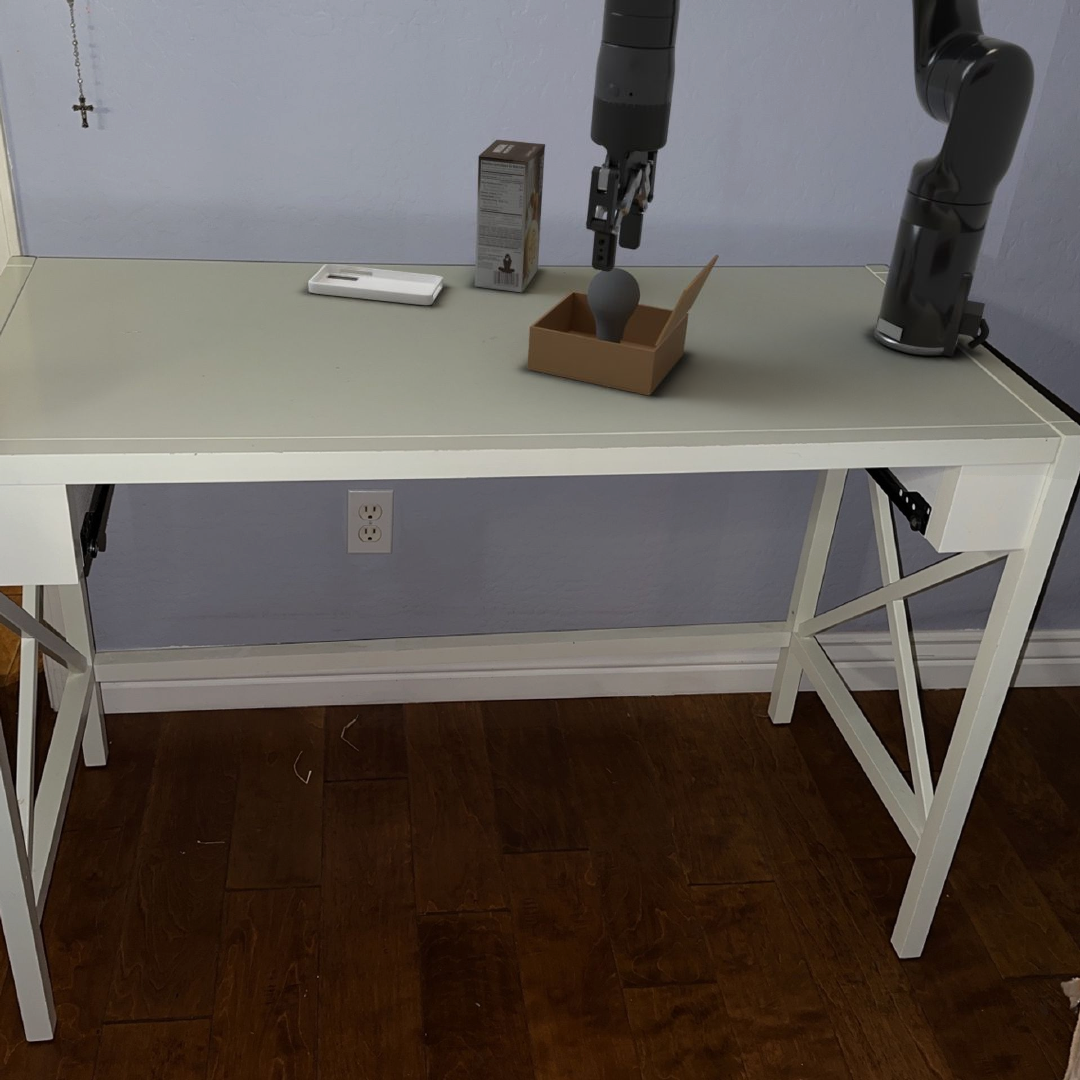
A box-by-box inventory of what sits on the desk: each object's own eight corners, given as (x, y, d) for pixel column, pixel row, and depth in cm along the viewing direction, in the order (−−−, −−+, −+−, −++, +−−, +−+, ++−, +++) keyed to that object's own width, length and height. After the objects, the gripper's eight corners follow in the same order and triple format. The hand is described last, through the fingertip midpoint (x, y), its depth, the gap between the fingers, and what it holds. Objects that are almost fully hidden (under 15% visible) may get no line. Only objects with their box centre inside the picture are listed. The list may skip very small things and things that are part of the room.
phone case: (307, 293, 138) (430, 306, 137) (306, 282, 138) (430, 295, 136) (325, 273, 145) (443, 286, 143) (325, 263, 144) (444, 275, 143)
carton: (683, 354, 129) (688, 313, 127) (649, 395, 119) (655, 352, 117) (569, 331, 133) (572, 290, 131) (527, 369, 123) (529, 326, 120)
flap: (688, 307, 126) (690, 308, 126) (654, 345, 116) (657, 346, 116) (716, 254, 122) (719, 255, 122) (684, 289, 112) (687, 290, 112)
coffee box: (490, 264, 151) (495, 137, 143) (538, 270, 150) (546, 143, 142) (473, 287, 144) (477, 154, 135) (523, 293, 143) (531, 160, 134)
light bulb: (605, 373, 123) (614, 281, 117) (571, 355, 126) (578, 265, 121) (643, 362, 126) (653, 272, 120) (609, 345, 129) (617, 257, 124)
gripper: (648, 111, 105) (629, 284, 113) (690, 87, 116) (670, 246, 125) (570, 99, 107) (557, 271, 115) (619, 77, 118) (604, 235, 127)
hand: (616, 258), depth 120 cm, fingers open, 8 cm apart
